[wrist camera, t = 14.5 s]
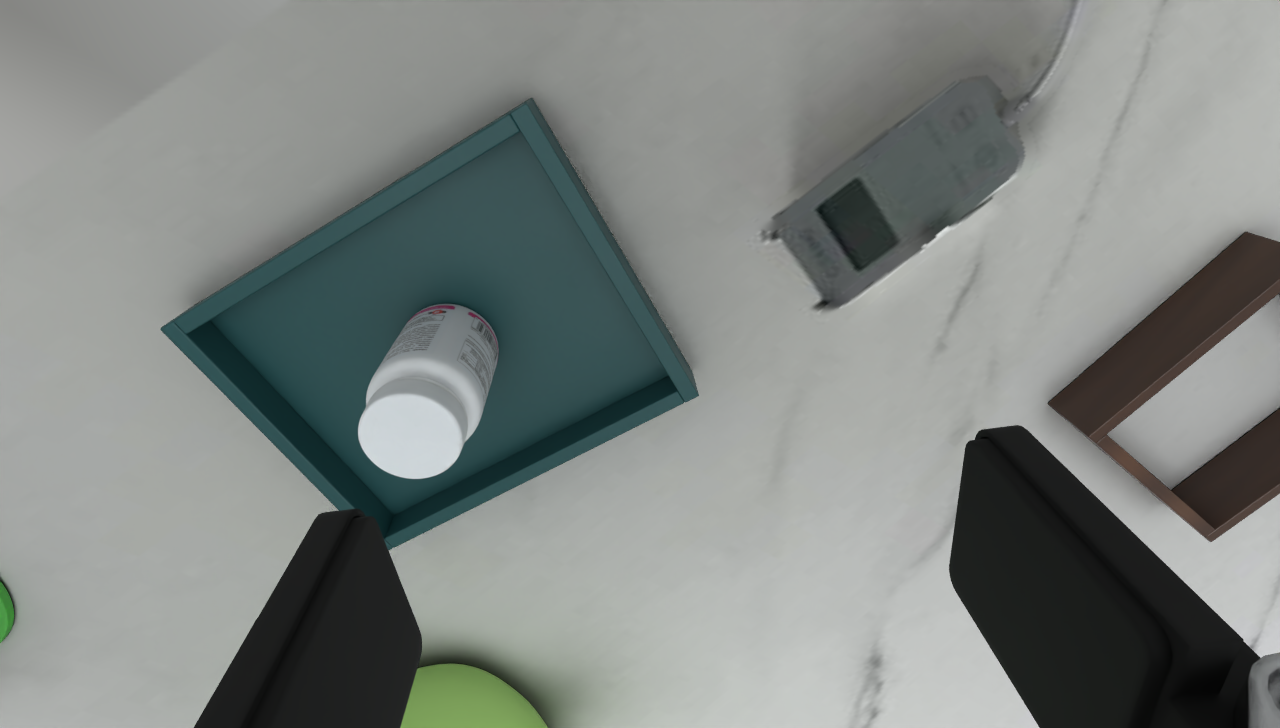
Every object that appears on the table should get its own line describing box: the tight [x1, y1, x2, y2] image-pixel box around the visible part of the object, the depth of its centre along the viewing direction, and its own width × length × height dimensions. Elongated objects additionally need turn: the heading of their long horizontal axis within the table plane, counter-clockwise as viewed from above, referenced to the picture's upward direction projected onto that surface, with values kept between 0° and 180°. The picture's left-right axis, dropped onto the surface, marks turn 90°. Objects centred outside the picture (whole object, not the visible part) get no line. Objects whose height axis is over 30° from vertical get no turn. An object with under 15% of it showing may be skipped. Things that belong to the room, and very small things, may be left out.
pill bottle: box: [358, 304, 499, 479], centre depth 29 cm, size 5×5×8 cm
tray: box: [161, 98, 699, 550], centre depth 32 cm, size 20×16×3 cm
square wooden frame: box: [1048, 232, 1280, 542], centre depth 36 cm, size 12×12×4 cm
